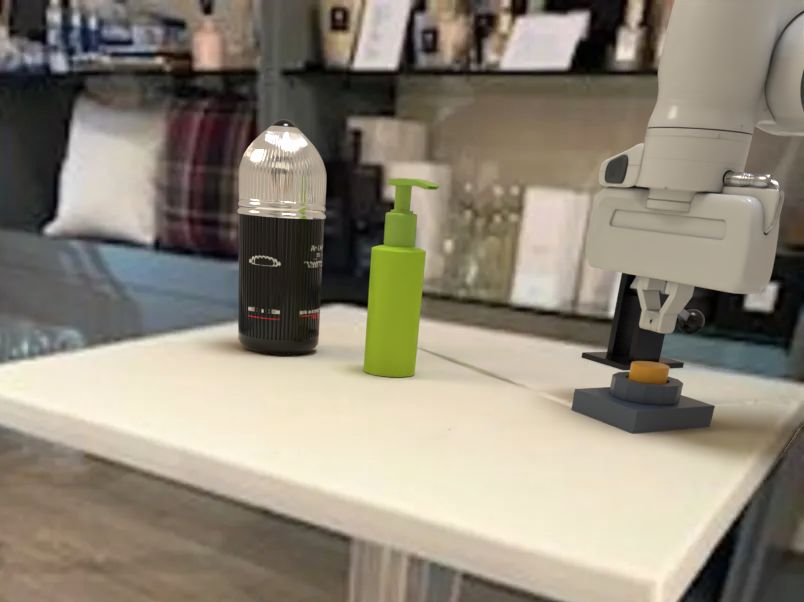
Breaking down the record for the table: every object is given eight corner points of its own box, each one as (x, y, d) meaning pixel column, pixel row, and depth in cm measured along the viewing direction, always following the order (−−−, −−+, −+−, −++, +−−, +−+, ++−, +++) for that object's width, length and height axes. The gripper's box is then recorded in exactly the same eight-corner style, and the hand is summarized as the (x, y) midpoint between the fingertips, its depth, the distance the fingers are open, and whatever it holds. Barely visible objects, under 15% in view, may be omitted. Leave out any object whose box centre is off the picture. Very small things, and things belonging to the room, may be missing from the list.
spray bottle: (331, 347, 111) (343, 125, 100) (301, 360, 102) (310, 118, 92) (257, 338, 114) (261, 120, 103) (222, 349, 105) (221, 113, 94)
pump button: (647, 377, 88) (651, 360, 87) (673, 386, 85) (677, 367, 84) (620, 379, 86) (623, 361, 85) (646, 387, 83) (649, 369, 83)
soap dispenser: (399, 381, 96) (416, 179, 87) (353, 369, 100) (364, 175, 91) (432, 375, 100) (451, 181, 91) (385, 364, 104) (400, 177, 95)
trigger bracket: (638, 359, 118) (657, 266, 113) (682, 372, 112) (704, 274, 106) (580, 361, 114) (597, 265, 108) (622, 374, 107) (642, 273, 102)
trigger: (682, 336, 116) (695, 314, 116) (700, 341, 114) (714, 318, 113) (624, 290, 109) (638, 265, 108) (643, 293, 106) (656, 268, 106)
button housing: (645, 405, 93) (653, 367, 91) (709, 427, 86) (719, 387, 84) (570, 410, 89) (577, 370, 87) (632, 434, 81) (641, 391, 80)
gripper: (815, 176, 70) (767, 351, 76) (638, 168, 87) (609, 313, 93) (761, 171, 68) (715, 353, 74) (588, 163, 84) (562, 313, 90)
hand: (655, 330), depth 83 cm, fingers closed
